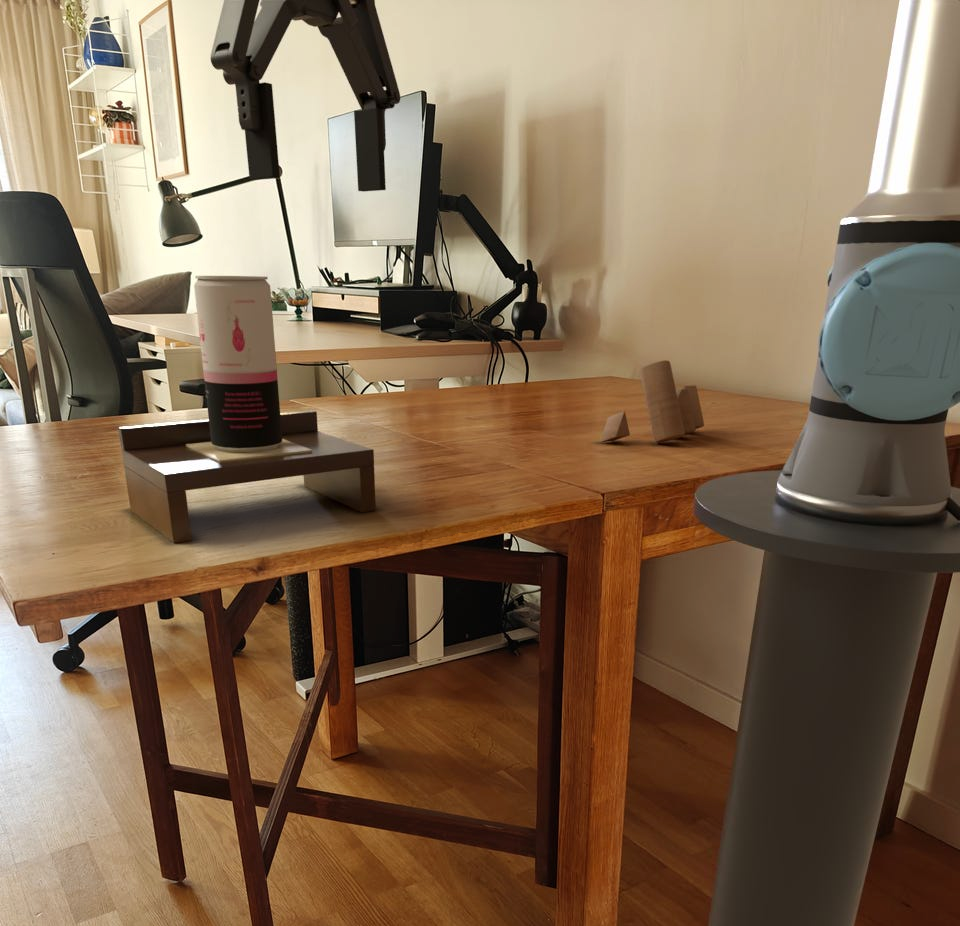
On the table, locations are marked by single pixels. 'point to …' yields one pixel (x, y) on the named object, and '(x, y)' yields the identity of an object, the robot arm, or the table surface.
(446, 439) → the table surface
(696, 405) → the wooden block set
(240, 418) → the beverage can
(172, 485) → the shelf
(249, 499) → the table surface
